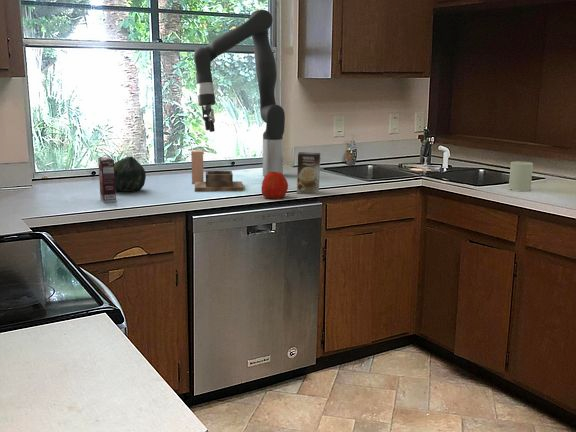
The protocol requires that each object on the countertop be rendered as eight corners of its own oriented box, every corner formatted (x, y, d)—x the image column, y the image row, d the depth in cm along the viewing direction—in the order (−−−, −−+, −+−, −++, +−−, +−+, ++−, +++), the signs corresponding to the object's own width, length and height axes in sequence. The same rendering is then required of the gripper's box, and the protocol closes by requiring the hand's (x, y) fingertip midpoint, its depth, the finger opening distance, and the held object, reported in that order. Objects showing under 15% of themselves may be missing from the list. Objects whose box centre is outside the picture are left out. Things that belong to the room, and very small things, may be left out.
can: (530, 188, 277) (533, 161, 274) (531, 192, 268) (533, 163, 265) (508, 187, 280) (510, 159, 277) (508, 190, 271) (510, 162, 268)
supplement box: (99, 198, 243) (97, 157, 239) (112, 198, 245) (110, 156, 241) (103, 203, 235) (101, 160, 231) (116, 202, 237) (114, 159, 233)
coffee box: (296, 193, 259) (296, 153, 255) (297, 190, 265) (298, 152, 261) (318, 194, 258) (319, 154, 254) (319, 191, 264) (320, 152, 260)
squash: (104, 174, 264) (108, 150, 253) (141, 174, 270) (146, 150, 259) (108, 202, 257) (112, 178, 246) (146, 201, 263) (151, 177, 252)
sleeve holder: (241, 184, 277) (241, 169, 275) (243, 191, 262) (243, 175, 261) (195, 185, 274) (195, 170, 273) (194, 191, 260) (194, 175, 258)
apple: (291, 196, 252) (292, 170, 250) (280, 201, 243) (280, 173, 241) (268, 194, 256) (268, 168, 254) (256, 198, 247) (256, 171, 245)
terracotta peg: (203, 181, 283) (203, 150, 280) (203, 183, 279) (203, 151, 276) (192, 181, 283) (191, 150, 280) (191, 183, 278) (191, 151, 275)
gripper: (211, 91, 274) (215, 128, 275) (217, 95, 289) (221, 131, 289) (194, 93, 275) (198, 130, 276) (201, 97, 289) (205, 133, 290)
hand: (210, 130), depth 283 cm, fingers open, 8 cm apart
